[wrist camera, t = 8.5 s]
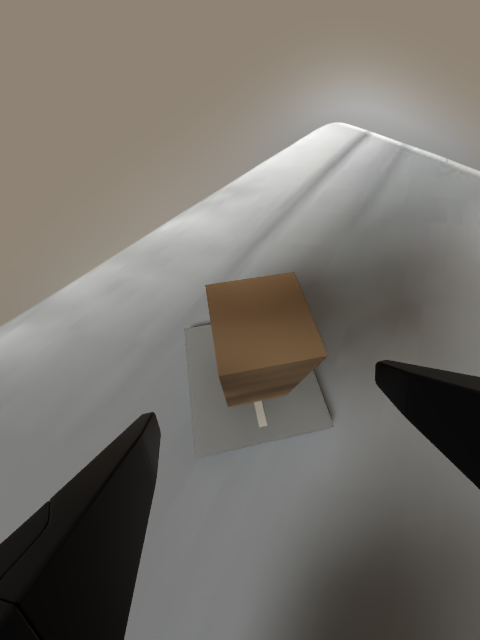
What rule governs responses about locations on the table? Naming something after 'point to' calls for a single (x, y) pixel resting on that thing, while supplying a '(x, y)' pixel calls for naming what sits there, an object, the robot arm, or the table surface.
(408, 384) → the robot arm
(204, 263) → the table surface
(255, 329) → the walnut block
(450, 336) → the table surface
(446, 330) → the table surface
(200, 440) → the coaster
